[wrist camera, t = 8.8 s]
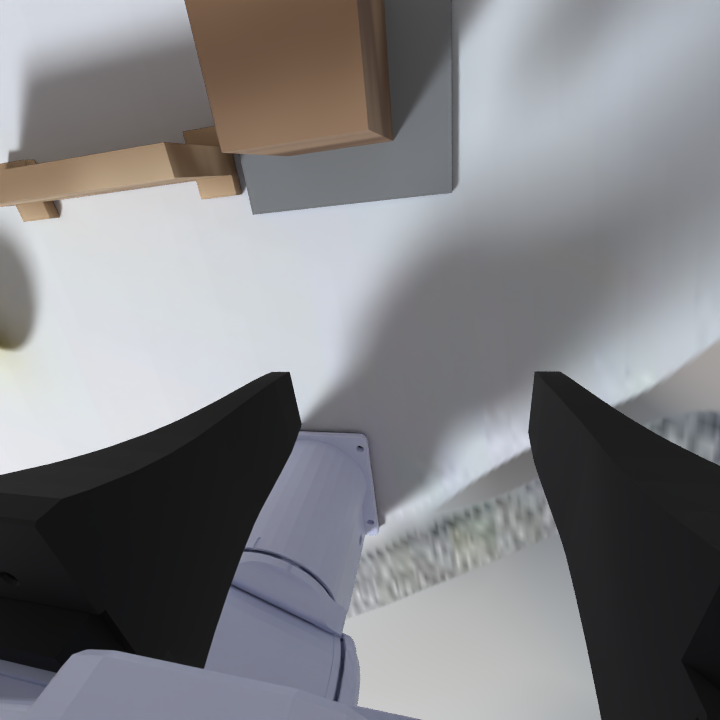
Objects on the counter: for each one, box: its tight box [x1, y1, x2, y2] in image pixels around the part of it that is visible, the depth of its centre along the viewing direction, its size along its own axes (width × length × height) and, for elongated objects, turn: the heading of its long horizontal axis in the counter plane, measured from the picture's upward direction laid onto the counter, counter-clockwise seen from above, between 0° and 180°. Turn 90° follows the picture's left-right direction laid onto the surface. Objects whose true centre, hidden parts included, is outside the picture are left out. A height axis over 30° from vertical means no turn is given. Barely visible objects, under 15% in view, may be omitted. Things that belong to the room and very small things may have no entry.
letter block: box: [184, 0, 393, 156], centre depth 13 cm, size 5×5×6 cm
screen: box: [0, 126, 242, 222], centre depth 18 cm, size 3×14×5 cm, turn 98°
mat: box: [239, 0, 452, 214], centre depth 16 cm, size 10×10×1 cm
